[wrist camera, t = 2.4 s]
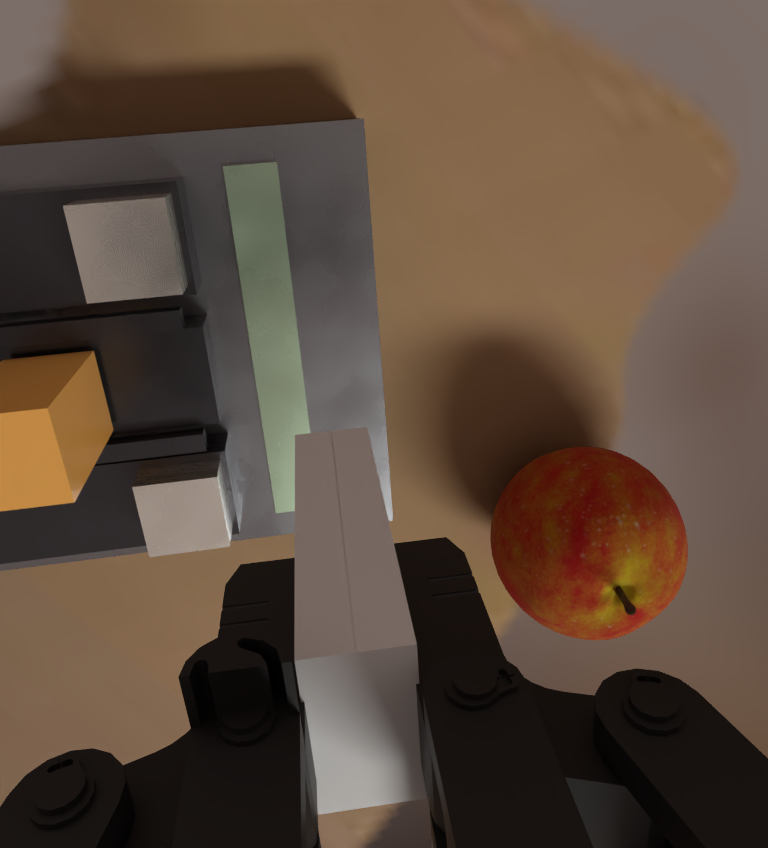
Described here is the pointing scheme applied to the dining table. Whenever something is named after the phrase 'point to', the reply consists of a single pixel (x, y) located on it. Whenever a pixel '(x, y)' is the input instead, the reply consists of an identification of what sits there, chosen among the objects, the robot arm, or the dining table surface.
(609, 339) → the dining table surface
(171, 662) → the dining table surface
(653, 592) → the fruit
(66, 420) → the block
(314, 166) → the panel
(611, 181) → the dining table surface
